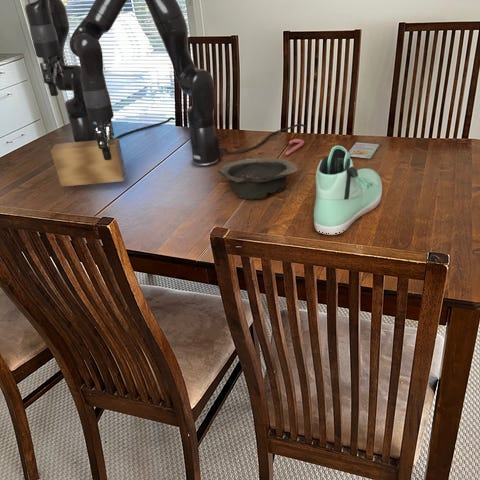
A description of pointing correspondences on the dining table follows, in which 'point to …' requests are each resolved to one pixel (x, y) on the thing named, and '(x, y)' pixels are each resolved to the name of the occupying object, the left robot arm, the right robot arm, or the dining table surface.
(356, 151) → the baking ingredient package
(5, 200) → the dining table surface
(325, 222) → the sneaker
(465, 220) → the dining table surface
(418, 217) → the dining table surface
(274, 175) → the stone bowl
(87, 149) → the box
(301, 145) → the candy cane
